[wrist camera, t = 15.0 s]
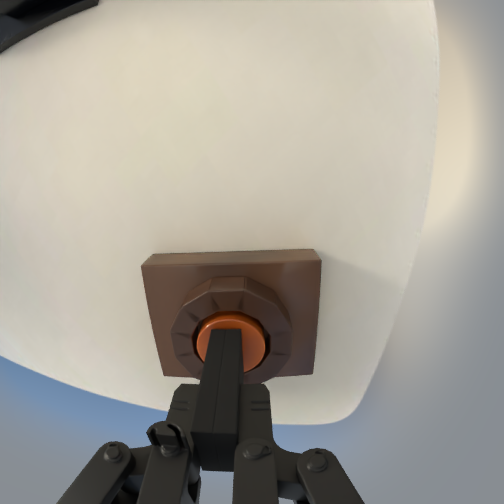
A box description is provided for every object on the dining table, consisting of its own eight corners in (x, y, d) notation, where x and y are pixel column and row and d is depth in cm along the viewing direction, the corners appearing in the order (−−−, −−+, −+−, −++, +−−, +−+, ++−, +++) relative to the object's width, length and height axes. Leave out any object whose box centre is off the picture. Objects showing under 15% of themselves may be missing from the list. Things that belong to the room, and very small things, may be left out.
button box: (313, 248, 18) (330, 271, 14) (307, 355, 20) (318, 392, 16) (152, 253, 18) (128, 277, 14) (170, 357, 20) (157, 393, 16)
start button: (263, 302, 16) (265, 318, 14) (264, 355, 17) (265, 373, 15) (197, 303, 16) (192, 319, 14) (204, 356, 17) (201, 374, 15)
